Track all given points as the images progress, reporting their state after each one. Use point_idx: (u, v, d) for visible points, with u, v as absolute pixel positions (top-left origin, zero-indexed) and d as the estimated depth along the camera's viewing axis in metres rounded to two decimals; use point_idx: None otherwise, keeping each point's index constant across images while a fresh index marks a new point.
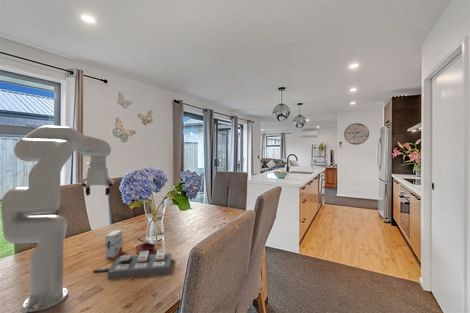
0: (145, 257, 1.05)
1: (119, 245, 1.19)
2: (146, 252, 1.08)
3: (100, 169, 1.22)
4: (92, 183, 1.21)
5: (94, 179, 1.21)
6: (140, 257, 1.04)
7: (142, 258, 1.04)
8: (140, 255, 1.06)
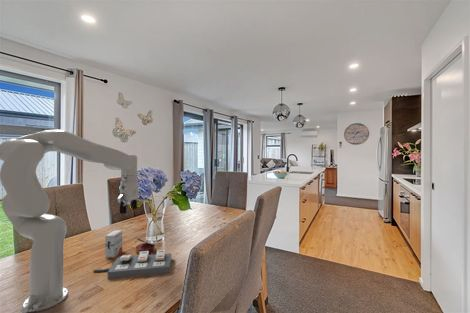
0: (145, 257, 1.05)
1: (119, 245, 1.19)
2: (146, 252, 1.08)
3: (136, 182, 1.15)
4: (132, 199, 1.12)
5: (133, 193, 1.12)
6: (140, 257, 1.04)
7: (142, 258, 1.04)
8: (140, 255, 1.06)
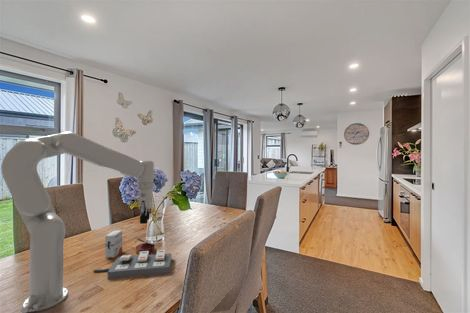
0: (145, 257, 1.05)
1: (119, 245, 1.19)
2: (146, 252, 1.08)
3: (151, 188, 1.11)
4: (150, 206, 1.07)
5: (150, 201, 1.08)
6: (140, 257, 1.04)
7: (142, 258, 1.04)
8: (140, 255, 1.06)
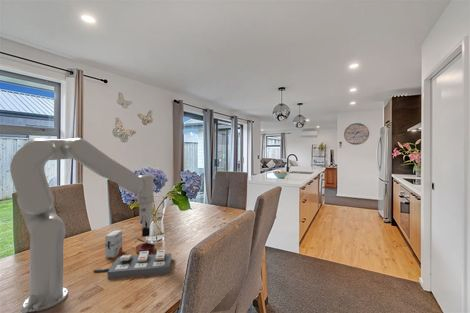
0: (145, 257, 1.05)
1: (119, 245, 1.19)
2: (146, 252, 1.08)
3: None
4: (151, 220, 1.08)
5: (151, 215, 1.08)
6: (140, 257, 1.04)
7: (142, 258, 1.04)
8: (140, 255, 1.06)
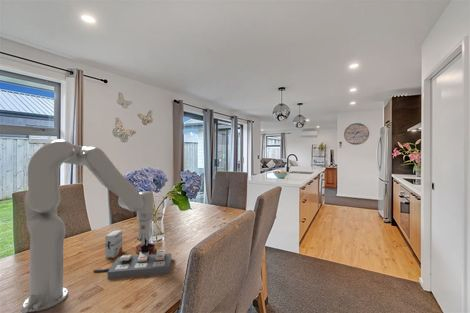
0: (145, 257, 1.05)
1: (119, 245, 1.19)
2: None
3: None
4: (150, 237, 1.08)
5: (150, 231, 1.09)
6: (140, 257, 1.04)
7: (142, 258, 1.04)
8: (140, 255, 1.06)
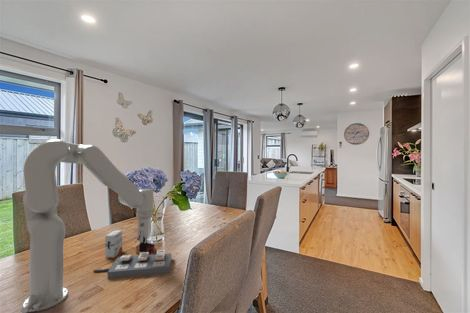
0: (145, 256, 1.05)
1: (119, 245, 1.19)
2: (146, 253, 1.09)
3: None
4: (149, 235, 1.07)
5: (149, 230, 1.08)
6: (140, 256, 1.05)
7: (142, 257, 1.04)
8: (140, 255, 1.06)
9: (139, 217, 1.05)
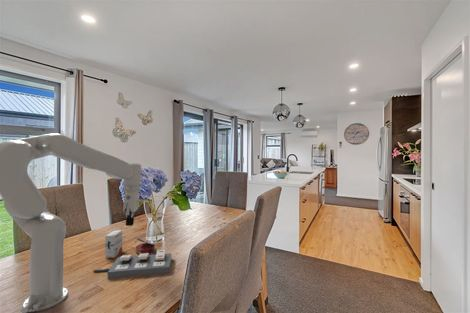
0: (145, 255, 1.05)
1: (119, 245, 1.19)
2: (146, 253, 1.09)
3: (138, 191, 1.11)
4: (135, 209, 1.07)
5: (136, 204, 1.07)
6: (140, 255, 1.05)
7: (142, 256, 1.04)
8: (140, 255, 1.06)
9: (126, 190, 1.04)
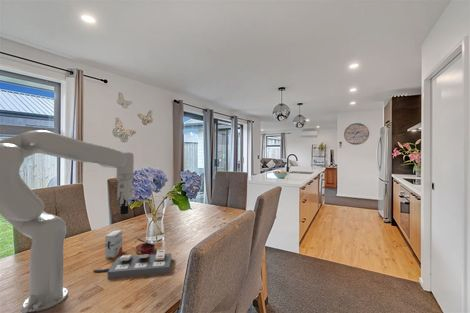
0: (145, 254, 1.05)
1: (119, 245, 1.19)
2: (146, 254, 1.09)
3: (131, 180, 1.11)
4: (129, 198, 1.07)
5: (130, 193, 1.08)
6: (140, 255, 1.05)
7: (142, 255, 1.04)
8: None
9: (119, 179, 1.04)
